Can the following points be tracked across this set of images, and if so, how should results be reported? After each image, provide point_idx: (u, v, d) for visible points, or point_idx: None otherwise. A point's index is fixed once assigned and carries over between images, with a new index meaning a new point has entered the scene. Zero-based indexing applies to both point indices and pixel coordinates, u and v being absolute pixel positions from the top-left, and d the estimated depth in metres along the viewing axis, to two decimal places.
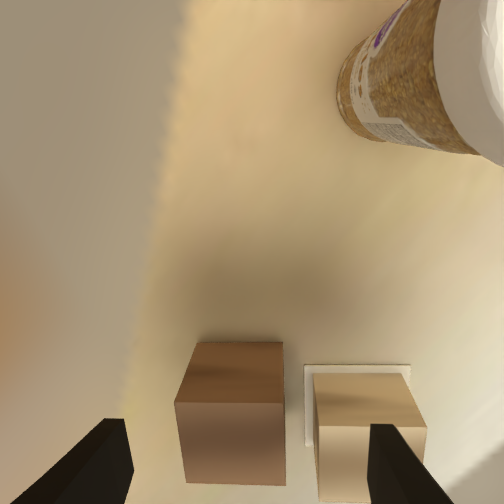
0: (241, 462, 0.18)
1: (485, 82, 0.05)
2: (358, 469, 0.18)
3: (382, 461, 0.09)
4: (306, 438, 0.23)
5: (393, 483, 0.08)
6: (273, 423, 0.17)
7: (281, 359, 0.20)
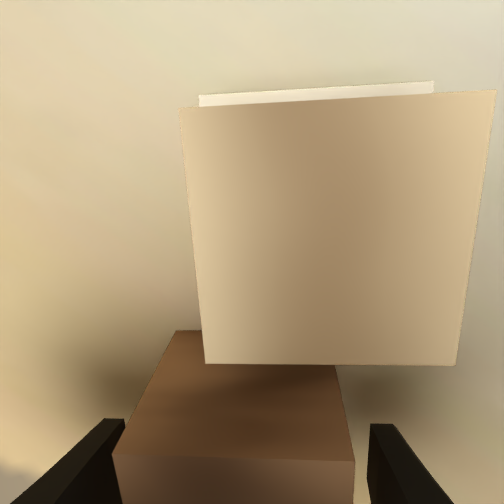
0: None
1: None
2: (340, 275, 0.07)
3: (382, 461, 0.09)
4: None
5: (393, 483, 0.08)
6: (166, 472, 0.08)
7: (160, 362, 0.11)
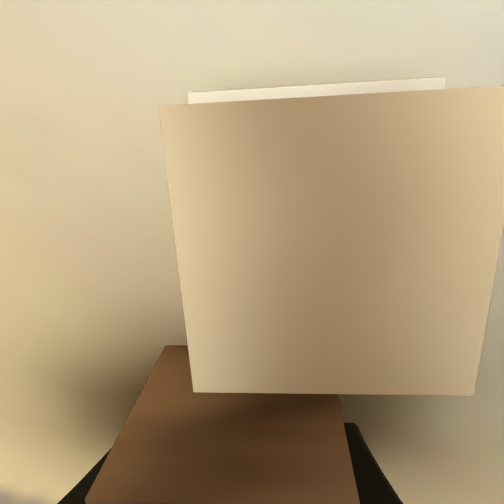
0: None
1: None
2: (344, 295, 0.06)
3: None
4: None
5: None
6: None
7: (145, 385, 0.10)
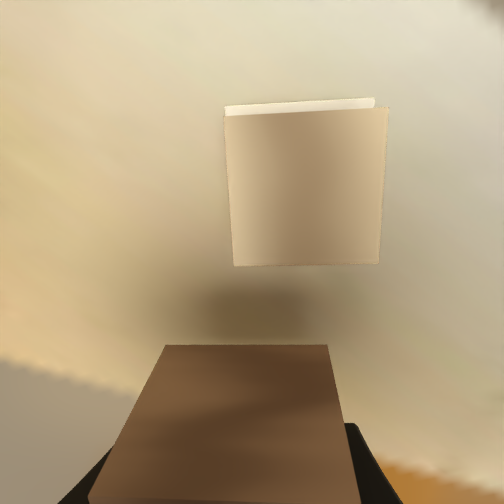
0: None
1: None
2: (311, 209, 0.12)
3: None
4: None
5: None
6: None
7: (146, 383, 0.10)
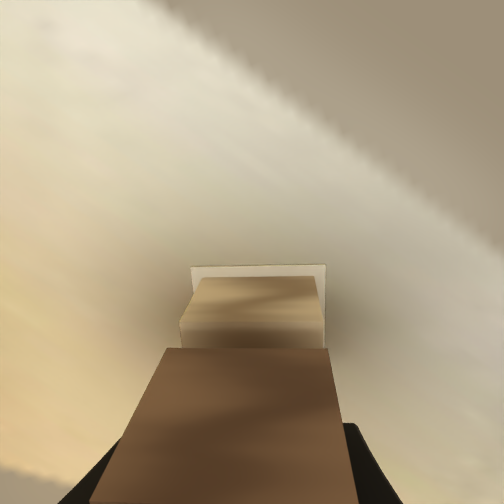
0: None
1: None
2: None
3: None
4: None
5: None
6: None
7: (147, 387, 0.10)
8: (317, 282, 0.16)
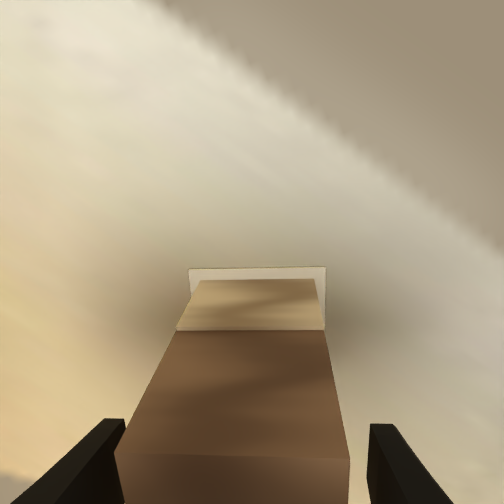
0: None
1: None
2: None
3: (382, 461, 0.09)
4: None
5: (393, 483, 0.08)
6: (167, 470, 0.08)
7: (160, 363, 0.11)
8: (317, 285, 0.16)
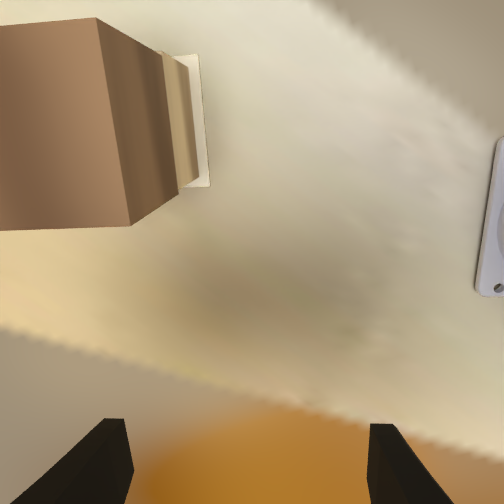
0: (57, 117, 0.09)
1: None
2: None
3: (382, 461, 0.09)
4: (197, 185, 0.19)
5: (393, 483, 0.08)
6: None
7: None
8: (192, 76, 0.17)
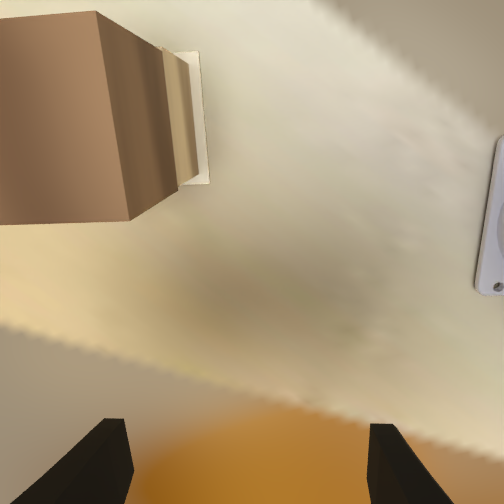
0: (56, 111, 0.09)
1: None
2: None
3: (382, 461, 0.09)
4: (197, 182, 0.19)
5: (393, 483, 0.08)
6: None
7: None
8: (192, 73, 0.17)
